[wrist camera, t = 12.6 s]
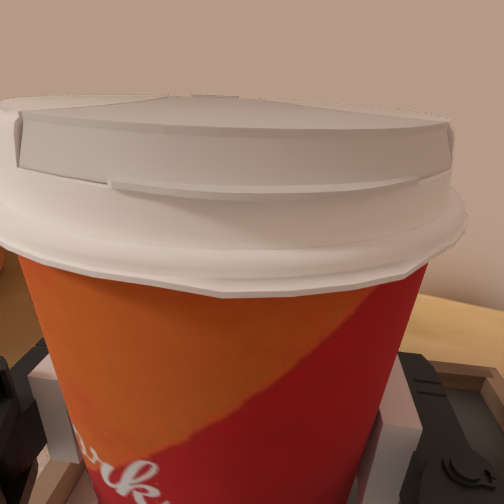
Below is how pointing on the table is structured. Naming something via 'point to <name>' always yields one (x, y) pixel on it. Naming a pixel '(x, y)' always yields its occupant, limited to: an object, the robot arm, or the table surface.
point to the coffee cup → (223, 280)
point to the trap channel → (472, 423)
